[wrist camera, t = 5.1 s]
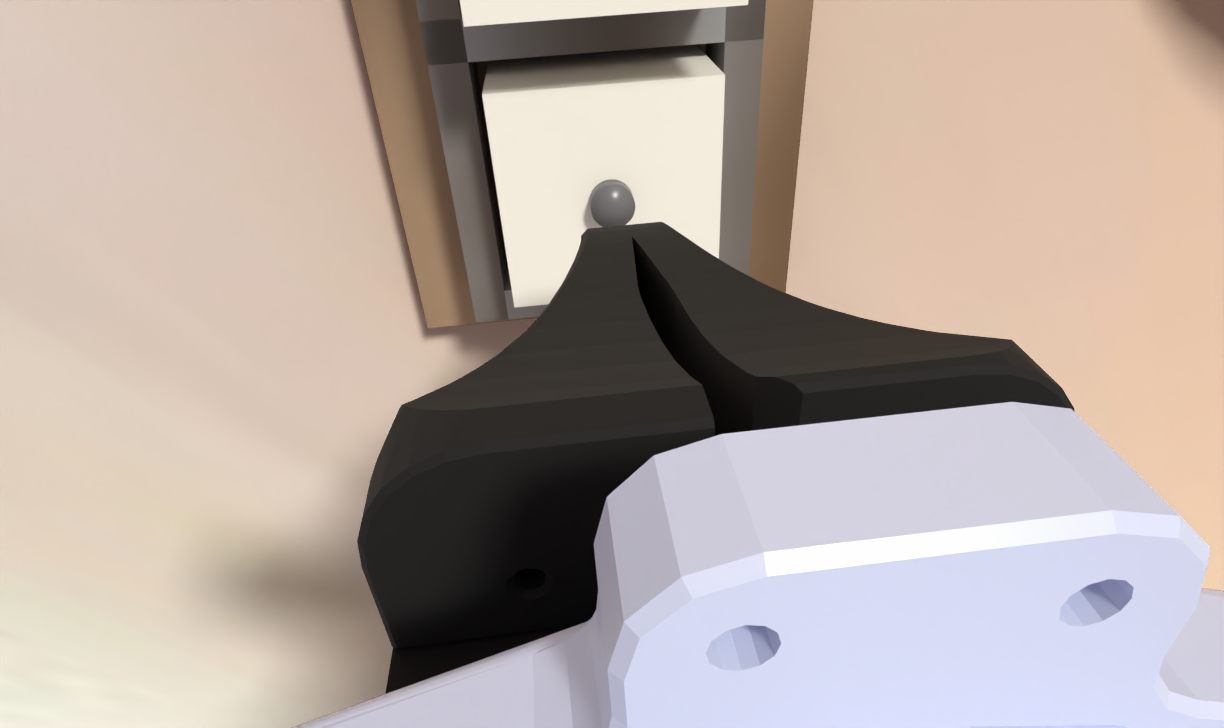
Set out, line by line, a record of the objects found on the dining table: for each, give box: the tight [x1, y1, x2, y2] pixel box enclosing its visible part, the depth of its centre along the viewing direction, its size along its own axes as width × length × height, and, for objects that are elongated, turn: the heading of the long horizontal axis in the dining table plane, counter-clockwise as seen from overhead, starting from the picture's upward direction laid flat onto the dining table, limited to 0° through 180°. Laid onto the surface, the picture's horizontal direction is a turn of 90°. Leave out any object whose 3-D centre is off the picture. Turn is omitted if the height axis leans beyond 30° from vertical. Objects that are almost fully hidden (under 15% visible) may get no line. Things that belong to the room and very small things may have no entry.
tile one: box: [482, 44, 725, 308], centre depth 16 cm, size 5×5×3 cm
